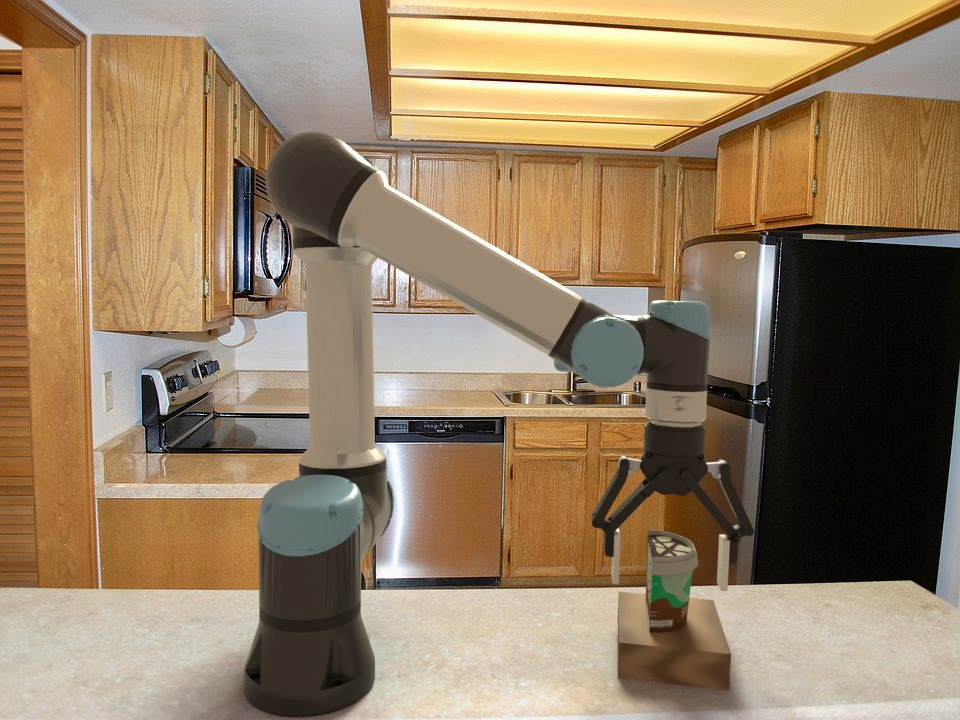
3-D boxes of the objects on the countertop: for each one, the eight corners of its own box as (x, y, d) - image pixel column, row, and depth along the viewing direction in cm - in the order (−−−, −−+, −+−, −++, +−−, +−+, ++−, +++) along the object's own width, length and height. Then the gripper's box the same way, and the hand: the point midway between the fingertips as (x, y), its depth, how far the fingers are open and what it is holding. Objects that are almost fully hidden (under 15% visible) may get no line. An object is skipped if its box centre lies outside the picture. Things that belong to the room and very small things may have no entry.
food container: (701, 642, 89) (705, 562, 88) (649, 637, 90) (652, 558, 89) (690, 601, 101) (693, 531, 100) (644, 598, 102) (647, 528, 101)
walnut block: (617, 682, 89) (618, 642, 89) (617, 625, 105) (618, 591, 104) (728, 694, 87) (730, 654, 86) (711, 634, 103) (713, 600, 102)
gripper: (577, 422, 91) (571, 588, 93) (785, 430, 88) (776, 601, 90) (575, 413, 99) (571, 567, 100) (768, 421, 96) (759, 578, 97)
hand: (668, 584), depth 95 cm, fingers open, 13 cm apart
